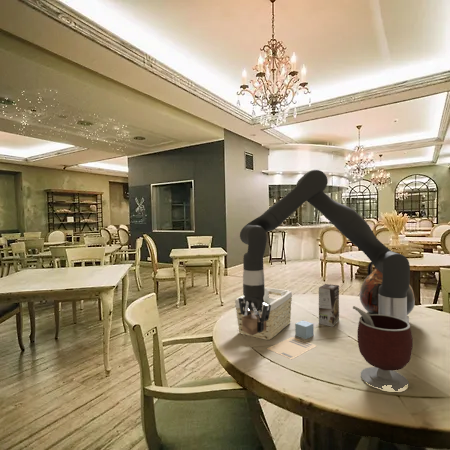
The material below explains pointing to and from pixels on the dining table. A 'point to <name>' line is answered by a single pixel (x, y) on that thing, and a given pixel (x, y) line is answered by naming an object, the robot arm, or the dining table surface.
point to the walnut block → (251, 324)
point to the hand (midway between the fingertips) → (254, 329)
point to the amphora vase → (371, 292)
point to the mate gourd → (384, 348)
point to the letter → (291, 347)
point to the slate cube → (304, 329)
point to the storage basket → (271, 313)
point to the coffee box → (328, 304)
